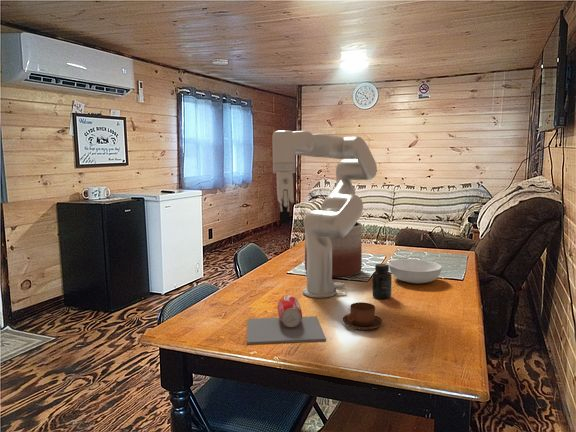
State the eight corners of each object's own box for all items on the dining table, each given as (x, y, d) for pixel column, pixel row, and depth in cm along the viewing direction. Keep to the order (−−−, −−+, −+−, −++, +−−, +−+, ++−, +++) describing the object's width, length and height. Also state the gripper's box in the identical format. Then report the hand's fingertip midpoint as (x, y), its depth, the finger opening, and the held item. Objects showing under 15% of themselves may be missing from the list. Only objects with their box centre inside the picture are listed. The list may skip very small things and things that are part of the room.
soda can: (303, 306, 142) (308, 320, 130) (285, 319, 142) (288, 334, 130) (290, 289, 141) (294, 301, 129) (272, 302, 141) (274, 315, 129)
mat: (316, 317, 141) (316, 316, 141) (326, 340, 123) (326, 338, 123) (247, 320, 139) (247, 318, 139) (247, 344, 121) (247, 342, 121)
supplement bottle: (393, 295, 163) (393, 263, 162) (389, 300, 157) (389, 268, 156) (374, 293, 166) (375, 262, 165) (370, 298, 160) (370, 266, 159)
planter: (355, 264, 212) (356, 219, 209) (367, 279, 186) (367, 227, 184) (302, 265, 211) (302, 220, 208) (307, 280, 185) (306, 228, 183)
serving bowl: (385, 284, 178) (385, 268, 177) (393, 272, 197) (393, 257, 196) (439, 290, 170) (440, 272, 169) (442, 276, 189) (443, 261, 188)
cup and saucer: (373, 336, 126) (373, 315, 125) (335, 328, 133) (335, 308, 132) (387, 323, 136) (388, 303, 136) (352, 316, 143) (352, 297, 142)
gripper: (297, 168, 139) (298, 226, 141) (293, 168, 154) (293, 220, 156) (273, 169, 138) (274, 226, 141) (271, 168, 153) (272, 220, 155)
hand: (284, 223), depth 148 cm, fingers closed
